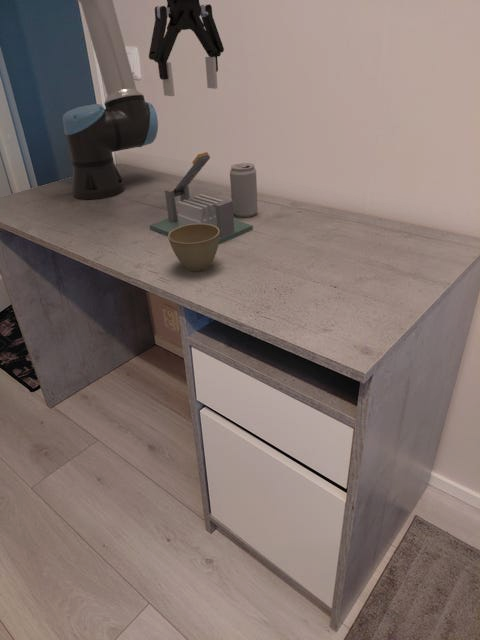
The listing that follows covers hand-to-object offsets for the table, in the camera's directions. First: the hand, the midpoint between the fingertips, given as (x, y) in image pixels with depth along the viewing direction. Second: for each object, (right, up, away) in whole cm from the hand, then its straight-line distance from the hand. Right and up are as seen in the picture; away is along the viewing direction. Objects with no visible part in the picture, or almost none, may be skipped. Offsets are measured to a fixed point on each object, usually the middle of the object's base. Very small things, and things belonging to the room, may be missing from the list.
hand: (191, 92), depth 109 cm
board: (+2, -31, +3) cm, 31 cm away
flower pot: (+3, -42, -13) cm, 44 cm away
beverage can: (+12, -26, +11) cm, 31 cm away
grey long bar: (0, -21, -2) cm, 21 cm away
